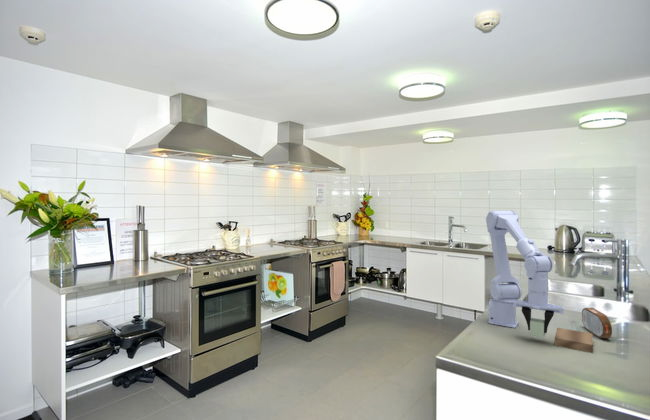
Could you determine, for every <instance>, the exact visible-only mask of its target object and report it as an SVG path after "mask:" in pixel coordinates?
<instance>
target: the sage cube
mask: <svg viewBox="0 0 650 420" xmlns="http://www.w3.org/2000/svg"><path fill="white" fill-rule="evenodd" d="M544 326H545V319H541V318H535V317H531V320H530V330H529V336H531V337H536V338H540V339H544V338H545V336H546V333H544Z"/></svg>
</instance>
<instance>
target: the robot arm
mask: <svg viewBox="0 0 650 420" xmlns="http://www.w3.org/2000/svg"><path fill="white" fill-rule="evenodd" d="M519 218H520V217H519V216H518V215H517V213H516V211H515V210H490V211H488V212H487V215H486V217H485V221H486V227H487V228H486V229H487V232H488V233H489V236H490V237H489V239H490V242H491V249H492V256H493V262H494V270H495V276H494V277H493V278H492V279H491V280H490V289H489V291H490V295H491V298H489V302H488V321H487V322H488V323H487V324H492V325H497V326H503V327H509V328H513V329H516V328H517V326H518V324H519V321H518V320H517V308H521V313H522V314H523V317H524V319H525V321H526V325H527V330H528V331H530V320H531V318H532V310H539V311H542V312H543V311H545V312H544V314H543V315H544V320H545V326H544V333H545V334H547V333H548V327H549V325H550V322H551V320H552V319H553V317H554V316H555V313H556V314H560V315H564V313H565V312H564V311H565V310H564V309H565V307H564V306H561V305H560V306H559V305H554V304H550V303H548V302H549V297H548V296H549V290H548V289H549V273H550V272H551V271H552V270H553V266H554V265H553V261H552V259H551V257H550V256H549V255H548V254H544V253H542V252H541V250H540V248H539V247H538V246H537V244H536V243H535V242H534V240H533V239H531V238H527V236H526V234H525V233H524V231H523V229H522V227H521V226H520V224H519ZM507 233H509V235H511V237H512V238H513V239H514V241H516V247H515V248H516V249H517V250H518V252H519V254H520V255H521V257H522V259H523V260H524V262H523V263H524V269H525V271H526V277H527V278H528V281H527V282H528V284H527V285H528V286H527V288H528V290H527V293H528V295H527V296H528V297H527V300H520V299H521V298H522V295H523V294H522V293H523V292H522V291H523V290H522V288H521V286H520V284H519V279H517V278H516V277H514V276H513V275H512V272H511V266H510V260H509V254H508V247H507V242H506V238H505V237H506V234H507Z"/></svg>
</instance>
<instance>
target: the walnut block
mask: <svg viewBox="0 0 650 420" xmlns="http://www.w3.org/2000/svg"><path fill="white" fill-rule="evenodd" d="M593 336H594V334H593V333H591V332H585V331H580V330H573V329H567V328H564V327H563V328H561V327H557V328H556V332H555V336H554V346H556V347H561V348H566V349H570V350H575V351H576V350H577V351H581V352H585V353H589V354H590V353H591V354H593V353H594V341H593V340H594V338H593Z"/></svg>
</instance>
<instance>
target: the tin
mask: <svg viewBox="0 0 650 420" xmlns="http://www.w3.org/2000/svg"><path fill="white" fill-rule="evenodd" d="M581 319H582V320H581V321H582V324H583V326H584V328H585V329H586V330H587V331H589V333H592V334H593V336H595V337H597V338H598V339H610V338H612V335H613V326H612V323H611V321H610V319H609V317H608V315H606V314H605V313H603V312H602V311H599V310H598V309H596V308H594V307H584V308H582V310H581Z"/></svg>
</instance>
